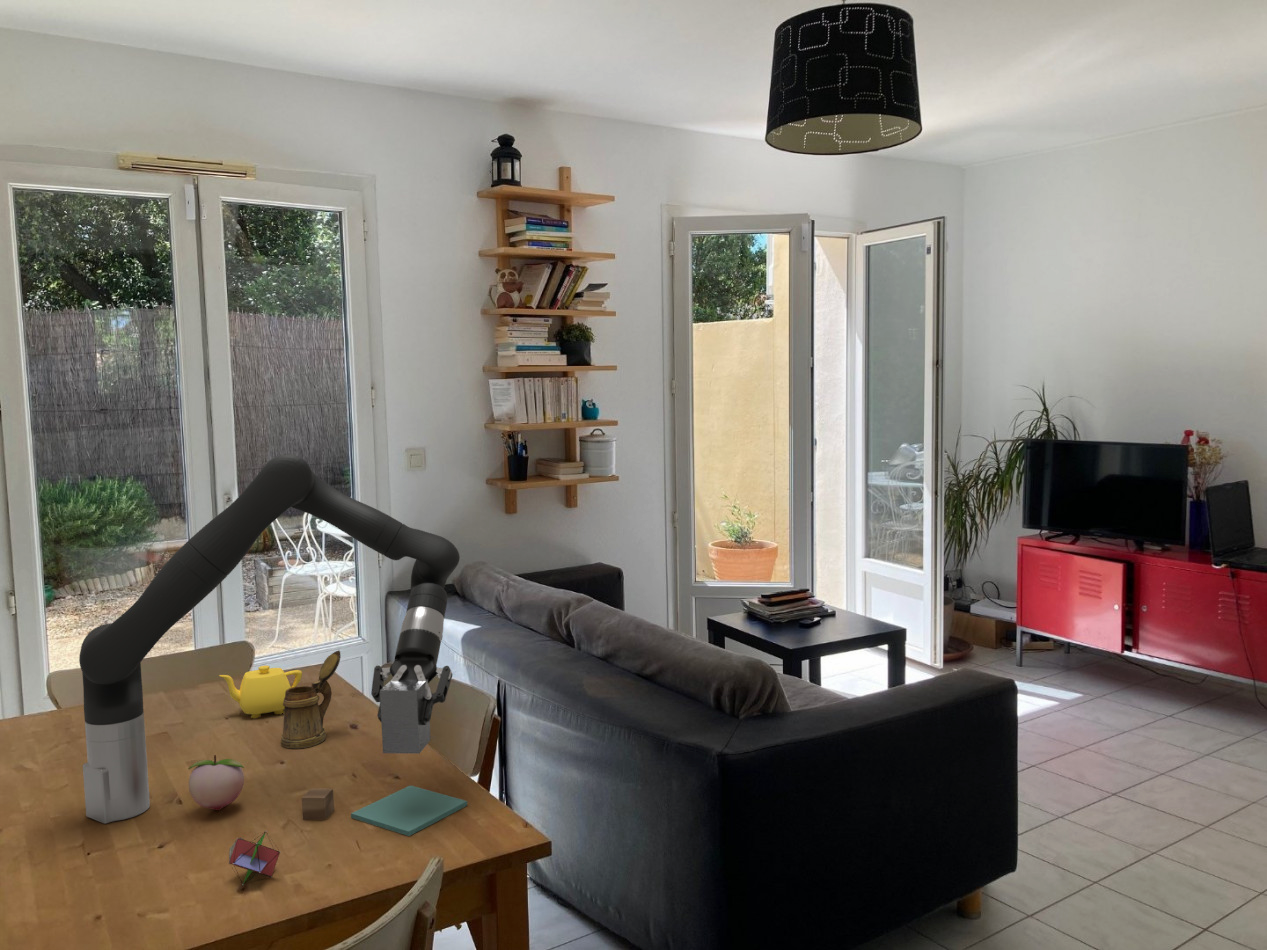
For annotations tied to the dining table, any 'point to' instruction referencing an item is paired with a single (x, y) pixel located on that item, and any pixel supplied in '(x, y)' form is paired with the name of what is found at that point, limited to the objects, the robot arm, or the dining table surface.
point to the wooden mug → (308, 709)
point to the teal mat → (409, 810)
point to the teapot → (262, 690)
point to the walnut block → (317, 804)
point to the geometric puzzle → (253, 857)
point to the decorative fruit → (216, 782)
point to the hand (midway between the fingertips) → (402, 722)
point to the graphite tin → (403, 717)
